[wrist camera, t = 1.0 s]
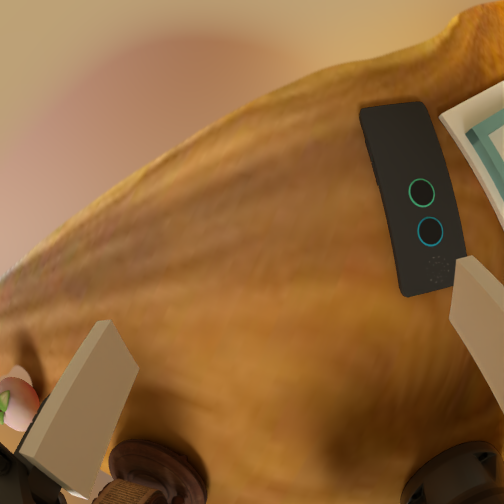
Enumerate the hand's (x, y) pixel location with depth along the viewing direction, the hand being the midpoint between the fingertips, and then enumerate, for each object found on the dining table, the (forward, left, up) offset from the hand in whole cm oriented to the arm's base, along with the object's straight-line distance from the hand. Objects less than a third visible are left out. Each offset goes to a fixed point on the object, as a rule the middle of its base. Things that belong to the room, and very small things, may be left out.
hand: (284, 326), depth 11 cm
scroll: (-15, +30, -21) cm, 40 cm away
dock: (0, -32, -21) cm, 38 cm away
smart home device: (+2, -15, -22) cm, 26 cm away
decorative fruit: (+3, +47, -21) cm, 52 cm away
